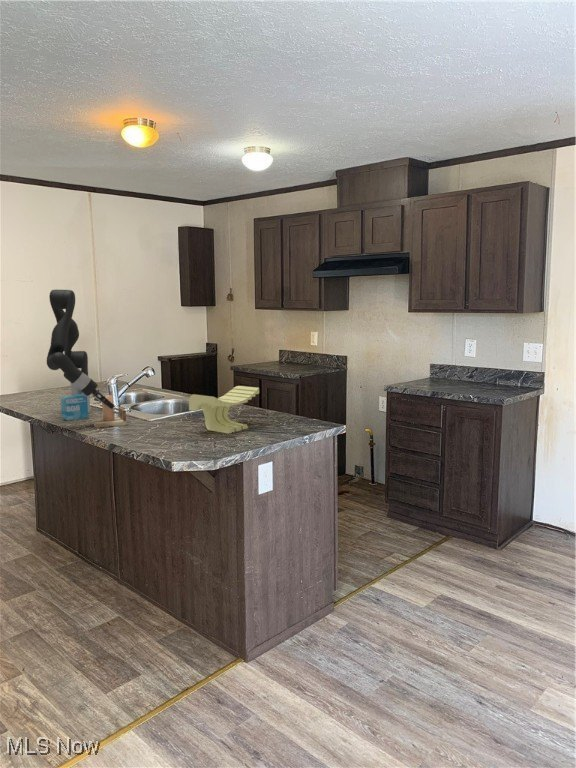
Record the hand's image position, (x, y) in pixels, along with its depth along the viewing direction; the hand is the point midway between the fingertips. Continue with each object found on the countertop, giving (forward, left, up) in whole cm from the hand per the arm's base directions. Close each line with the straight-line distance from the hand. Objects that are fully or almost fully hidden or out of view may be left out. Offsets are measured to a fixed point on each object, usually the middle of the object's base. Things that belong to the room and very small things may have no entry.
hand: (111, 406), depth 285 cm
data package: (-23, -15, -9) cm, 29 cm away
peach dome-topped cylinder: (0, -2, -7) cm, 7 cm away
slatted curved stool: (+38, +44, -9) cm, 59 cm away
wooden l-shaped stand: (0, -2, -9) cm, 9 cm away
